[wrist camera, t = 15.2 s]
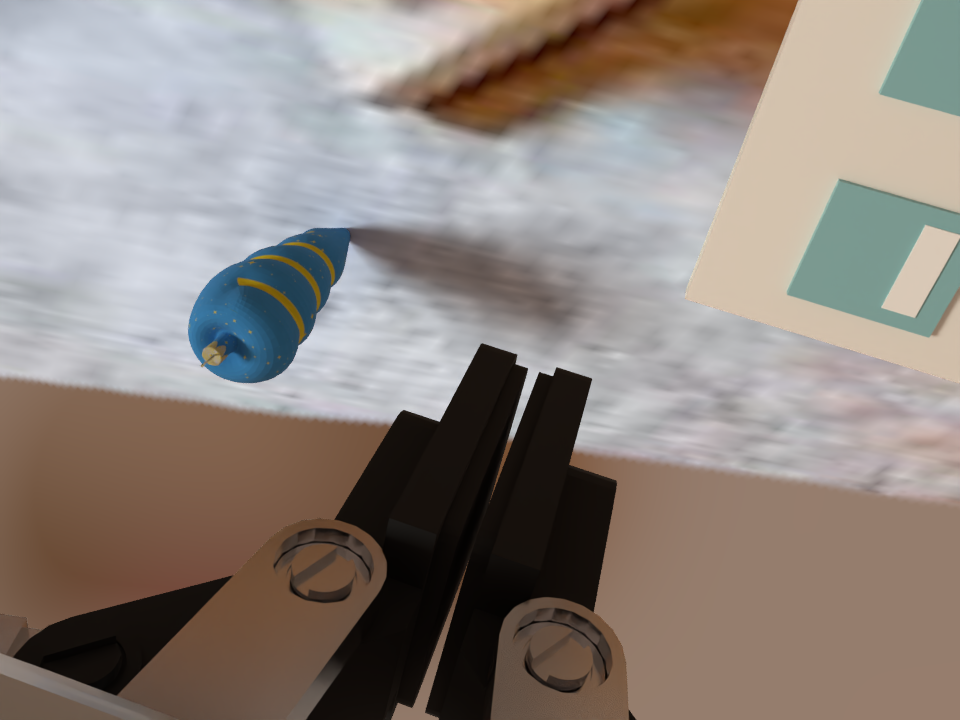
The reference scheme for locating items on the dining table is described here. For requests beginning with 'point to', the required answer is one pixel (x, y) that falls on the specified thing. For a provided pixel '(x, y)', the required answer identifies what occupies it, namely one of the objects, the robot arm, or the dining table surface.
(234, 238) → the dining table surface
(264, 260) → the ornament
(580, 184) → the dining table surface
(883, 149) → the label board
